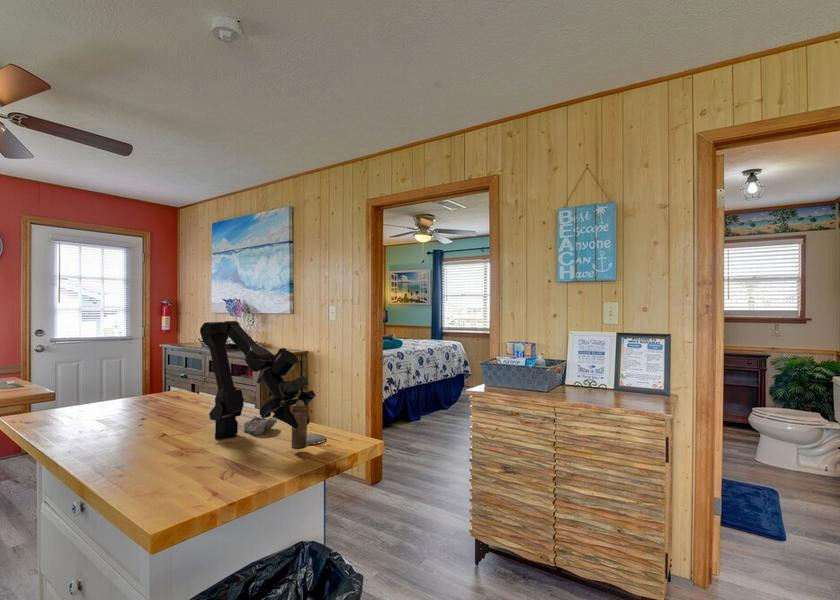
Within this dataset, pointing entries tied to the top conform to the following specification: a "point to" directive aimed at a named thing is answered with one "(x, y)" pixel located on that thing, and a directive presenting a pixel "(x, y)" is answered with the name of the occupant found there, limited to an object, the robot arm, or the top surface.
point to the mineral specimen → (259, 425)
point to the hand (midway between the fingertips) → (302, 425)
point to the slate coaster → (315, 438)
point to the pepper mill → (299, 426)
